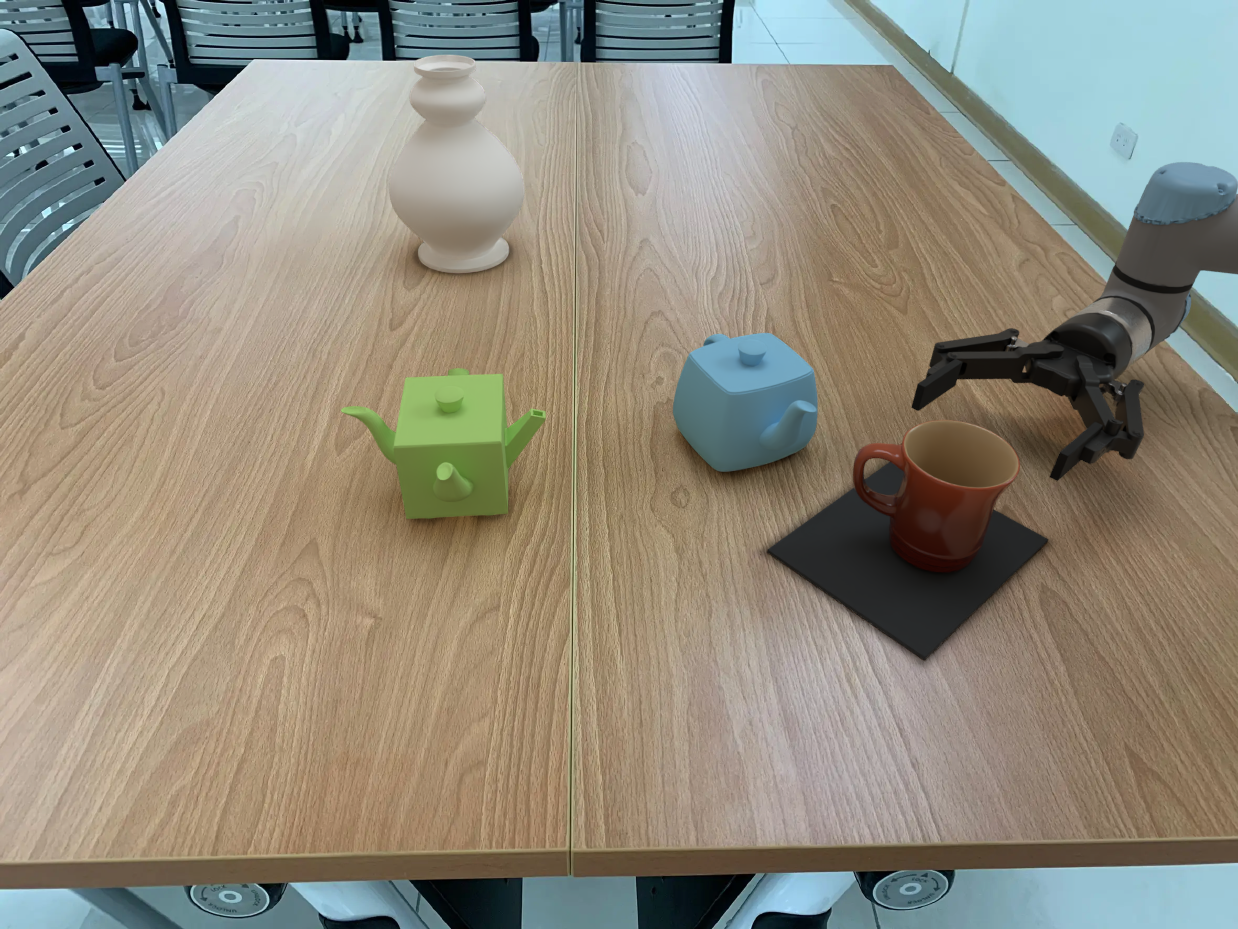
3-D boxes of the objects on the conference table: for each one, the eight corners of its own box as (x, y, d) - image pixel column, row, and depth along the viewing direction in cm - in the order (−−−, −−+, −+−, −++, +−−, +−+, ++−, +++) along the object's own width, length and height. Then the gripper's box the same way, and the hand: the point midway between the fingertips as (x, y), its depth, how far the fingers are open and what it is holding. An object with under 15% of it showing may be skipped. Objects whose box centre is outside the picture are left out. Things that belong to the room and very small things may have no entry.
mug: (981, 523, 81) (1016, 429, 74) (986, 595, 74) (1025, 498, 67) (842, 498, 84) (863, 405, 77) (834, 566, 77) (856, 469, 70)
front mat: (1047, 542, 80) (1048, 539, 80) (924, 660, 69) (925, 657, 69) (896, 459, 89) (897, 456, 89) (766, 552, 78) (767, 549, 78)
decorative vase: (439, 295, 114) (414, 93, 99) (376, 246, 125) (345, 58, 109) (552, 258, 123) (546, 68, 107) (484, 216, 134) (470, 37, 118)
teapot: (742, 521, 82) (756, 420, 74) (652, 416, 94) (657, 321, 87) (851, 484, 86) (874, 386, 79) (751, 389, 98) (764, 297, 91)
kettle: (456, 568, 76) (441, 467, 69) (350, 501, 83) (326, 402, 76) (569, 481, 86) (565, 384, 79) (465, 426, 92) (453, 333, 85)
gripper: (1207, 432, 85) (1109, 534, 73) (972, 332, 99) (859, 404, 88) (1243, 366, 80) (1144, 463, 69) (991, 270, 94) (874, 338, 83)
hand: (984, 430), depth 78 cm, fingers open, 13 cm apart
